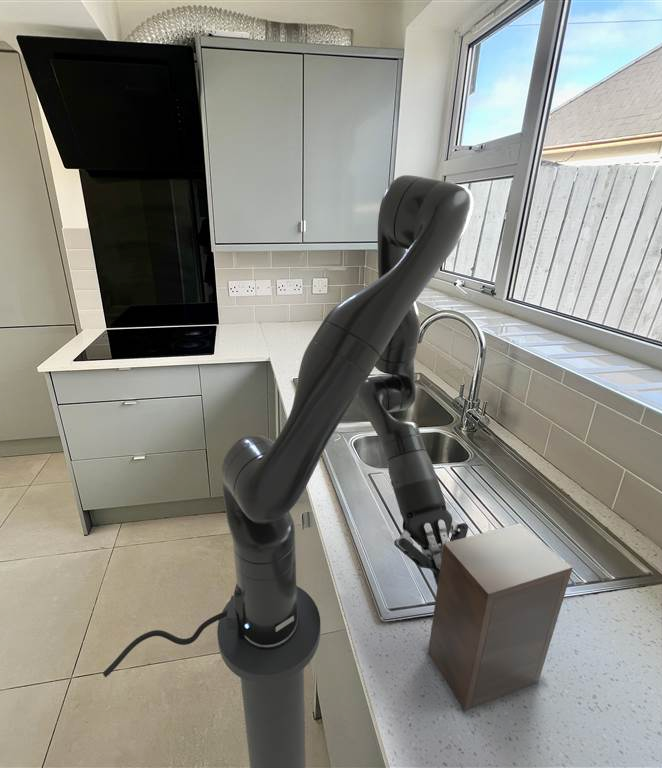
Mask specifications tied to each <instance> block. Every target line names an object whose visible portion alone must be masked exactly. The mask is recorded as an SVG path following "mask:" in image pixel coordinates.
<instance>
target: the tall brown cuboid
mask: <svg viewBox="0 0 662 768" xmlns="http://www.w3.org/2000/svg"><path fill="white" fill-rule="evenodd" d="M572 572H573V566H571V565H570V564H569V563H568V562H567V561H566V560H564V559H563V558H562V557H561V556H560V555H559V554H557V553H556V552H555V551H554V550H553V549H551V548H550V547H549V546H548V545H547V544H545V543H544V542H543V541H542V540H541V539H539V537H537V536H535V534H534V533H533V532H531V531H530V530H529V529H528V528H526V527H525V526H524V525H523V524H521V522H518V523H515V524H514V523H513V524H511V525H506V526H504V527H499V528H496V529H492V530H488V531H485V532H480V533H477V534H473V535H470V536H466V537H465V538H462V539H458V540H454V541H450V540H449V542H447V543H444V545H443V552H442V559H441V566H440V573H439V580H438V587H437V586H436V593H435V594H436V595H435V602H434V608H433V616H432V623H431V629H430V635H429V643H428V650H427V653H428V655H429V657H430V658H431V660H432V661H433V663H434V665H435V666H436V668H437V670H438V671H439V673H440V674H441V676H442V678H443V679H444V681H445V682H446V684H447V686H448V687H449V689H450V691H451V692H452V694H453V696H454V697H455V699H456V700H457V702H458V704H459V705H460V707H461V708H462V710H463V712H466V711H468V710H472V709H473V708H476V707H479V706H481V705H484V704H485V703H488V702H492V701H494V700H496V699H498V698H502V697H503V696H506V695H509V694H511V693H514V692H516V691H518V690H520V689H523V688H525V687H526V688H527V687H528V686H530V685H533V684H536V683H538V682H539V681H540V678H541V674H542V671H543V668H544V665H545V662H546V658H547V655H548V652H549V648H550V645H551V642H552V638H553V635H554V632H555V628H556V625H557V621H558V618H559V616H560V611H561V608H562V605H563V602H564V599H565V596H566V592H567V589H568V585H569V581H570V578H571V575H572Z"/></svg>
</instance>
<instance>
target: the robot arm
mask: <svg viewBox="0 0 662 768" xmlns="http://www.w3.org/2000/svg"><path fill="white" fill-rule="evenodd" d="M473 208H474V198H473V195H472V192H471V191H470V190H469V189H468V188H467V187H465V186H463V185H460V184H457V183H455V182H450V181H447V180H446V181H445V180H438V179H433V178H427V177H423V176H418V175H410V174H403V175H400V176H398V177H396V178H395V179H394V180H393V181H392V182H390V184H389V185H388V187H387V188H386V189H385V192H384V194H383V196H382V199H381V202H380V205H379V210H378V217H377V279H376V280H375V281H373V282H372V283H370V284H368V285H366V286H365V287H363V288H361V289H359V290H358V291H356V292H354V293H353V294H351V295H350V296H348V297H346V298H345V299H343V300H342V301H341V302H339V303H338V304H337V305H335V306H334V307H333V308H332V309H331V310H330V311H329V312H328V313H327V314H326V316H325V318H324V319H323V321H322V322H321V324H320V326H319V327H318V329H317V330H316V332H315V333H314V335H313V336H312V338H311V340H310V341H309V343H308V345H307V346H306V349H305V350H304V353H303V356H302V359H301V361H300V365H299V370H298V375H297V382H296V387H295V392H294V397H293V403H292V406H291V410H290V412H289V414H288V418H287V420H286V421H285V423H284V425H283V427H282V429H281V430H280V432H279V434H278V436H277V437H276V439H275V441H274V440H272V439H270V438H268V437H266V436H264V435H258V434H257V435H255V434H253V435H248V436H245V437H242V438H240V439H238V440H237V441H235V442H234V443H233V444H232V446H230V448H229V449H228V450H227V452H226V454H225V456H224V458H223V460H222V464H221V471H220V472H221V474H220V475H221V477H220V478H221V487H222V495H223V503H224V509H225V516H226V517H225V518H226V523H227V527H228V529H229V532H230V535H231V539H232V547H233V559H234V567H235V576H236V577H235V578H236V584H235V587H234V591H233V595H231V596H230V599H229V601H230V604H229V607H228V610H226V611H224V612H222V611H221V612H220V613H218V614H216V615H213V616H212V617H210V618H208V619H207V620H205V621H204V622H202V624H200V625H199V626H198V628H197V629H196V630H195V632H194V633H193V634H192V635H191V636H190V637H187V638H181V637H177V635H176V636H175V635H174V634H172V633H169V632H168V631H165V630H161V629H154V630H150V631H147V632H145V633H143V634H140V636H138V637H136V638H135V639H134V640H133V641H132V642H130V643H129V644H128V645H127V646H126V647H125V648H124V649H123V650H122V651H121V653H120V654H118V656H117V658H116V659H115V660H114V661H113V662H112V663H111V664H110V665H109V666H108V667H107V668H106V669H105V670H104V671H103V672H102V675H103V677H104V678H107V677H108V676H109V675H111V673H113V671H114V670H116V669H117V667H118V666H119V665H120V664H121V662H122V661H124V660H125V658H126V657H127V656H128V654H129V653H130V652H131V651H132V650H134V649H135V647H137V646H138V645H139V644H140V643H142V642H143V641H145V640H147V639H150V638H153V637H161V638H163V639H166V640H168V641H170V642H172V643H174V644H175V645H176V644H177V645H179V646H187V645H190V644H193V643H194V642H195V641H196V640H198V638H199V636H200V635H201V633H202V632H203V631H204V630H205V629H206V628H207V627H209V626H210V625H212V624H214V623H215V622H219V620H220V619H222V618H224V617H226V625H227V629H237V631H238V638H239V639H245V640H246V641H247V642H248V643H249V644H250V645H251V646H253V647H255V648H258V649H263V650H271V649H275V648H278V647H281V646H283V645H284V644H286V643H287V642H288V641H289V640H290V639H291V638H292V637H293V635H294V634H295V632H296V629H297V625H298V614H297V592H296V586H297V560H296V559H297V556H296V529H295V528H296V527H295V521H294V520H293V517H292V514H291V513H290V511H291V510H292V509H293V508H294V507H295V506H296V505H297V503H298V501H299V500H300V498H301V497H302V495H303V494H304V491H305V490H306V488H307V486H308V484H309V482H310V480H311V478H312V476H313V474H314V472H315V470H316V468H317V466H318V464H319V462H320V460H321V458H322V457H323V453H324V451H325V450H326V447H327V446H328V444H329V442H330V440H331V438H332V437H333V434H334V433H335V431H336V430H337V428H338V426H339V424H340V423H341V421H342V419H343V417H344V416H345V414H346V412H347V411H348V409H349V407H350V405H351V404H352V402H354V399H355V398H356V397H357V401H358V404H359V407H360V409H361V410H362V412H363V414H364V415H365V417H366V418H367V420H368V421H369V423H370V424H371V426H372V429H373V430H374V432H375V433H376V436H377V437H378V440H379V441H380V444H381V447H382V451H383V454H384V457H385V460H386V465H387V470H388V476H389V479H390V485H391V486H392V490H393V492H394V496H395V499H396V502H397V506H398V509H399V513H400V515H401V517H402V530H403V531H402V533H401V534H400V535H399V537H398V538H396V539H395V540H394V542H393V543H394V544H393V545H394V546H395V547H396V548H397V549H399V551H401V552H402V553H403V554H404V555H405V556H406V557H407V558H408V559H410V560H411V561H412V562H413V563H415V564H416V565H417V566H418V567H419V568H421V569H422V568H423V569H428V570H430V571H431V572H432V575H433V578H434V582H435V585H436V588H437V587H438V580H439V573H440V566H441V559H442V552H443V545H444V543H447V542H450V541H454V540H458V539H462V538H465V537H467V535H468V531H469V526H468V524H467V523H466V522H463V523H461V522H459V521H457V520H455V519H453V516H452V514H451V513H450V512H449V510H448V509H447V505H446V500H445V496H444V494H443V491H442V488H441V485H440V482H439V479H438V476H437V474H436V473H437V472H436V470H435V467H434V465H433V462H432V459H431V457H430V456H429V454H428V452H427V448H426V446H425V443H424V440H423V437H422V434H421V431H420V429H419V425H418V424H417V423H416V422H415V421H413V420H408V419H407V420H406V419H405V420H404V419H397V418H395V417H393V415H391V414H390V413H397V412H401V411H406V410H408V409H410V408H411V407H412V406H413V404H414V403H415V401H416V398H417V385H416V378H415V359H416V355H417V349H418V344H419V341H420V337H421V336H420V335H421V317H420V313H419V308H418V307H417V302H416V301H417V299H418V298H419V296H420V295H421V294H422V293H423V291H424V290H425V289H426V287H427V286H428V284H429V283H430V282H431V280H433V278H434V276H435V275H437V273H438V272H439V270H440V269H441V267H442V266H443V265H444V264H445V262H446V260H447V259H448V258H449V256H450V255H451V254H452V252H453V251H454V250H455V248H456V247H457V245H458V243H459V242H460V240H461V239H462V237H463V235H464V233H465V231H466V229H467V226H468V225H469V222H470V220H471V217H472V212H473ZM375 368H376V369H377V370H378V371H379V372H381V373H383V375H382V374H381V375H376V376H370V375H371V373H372V372H373V370H374V369H375ZM450 534H451V536H450ZM449 537H450V539H449ZM414 542H415V543H416V544H417V545H418V546H419V547H420V550H419V548H417V547H416V546H415V545H414Z"/></svg>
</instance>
